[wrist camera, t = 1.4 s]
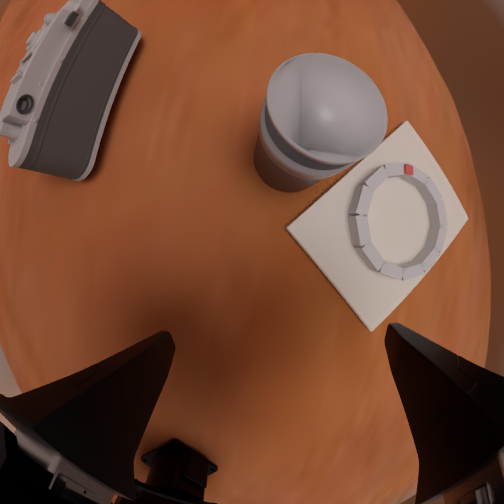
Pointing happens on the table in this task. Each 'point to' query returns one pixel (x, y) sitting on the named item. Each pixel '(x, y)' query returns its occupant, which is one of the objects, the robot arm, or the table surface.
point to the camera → (66, 89)
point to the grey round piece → (317, 121)
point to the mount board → (382, 225)
